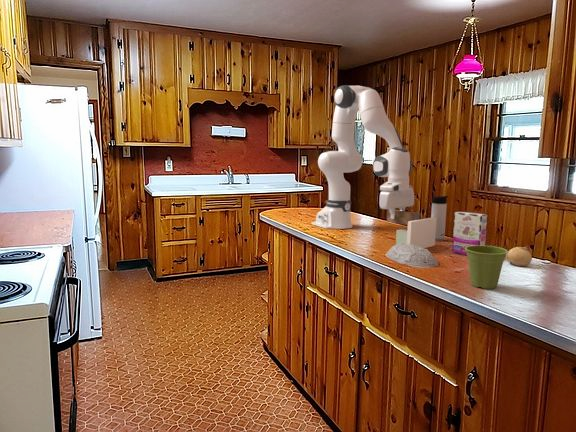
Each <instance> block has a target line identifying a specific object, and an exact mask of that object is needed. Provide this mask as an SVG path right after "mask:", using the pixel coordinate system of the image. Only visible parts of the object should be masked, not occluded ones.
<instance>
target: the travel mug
mask: <svg viewBox="0 0 576 432" xmlns="http://www.w3.org/2000/svg"><path fill="white" fill-rule="evenodd" d="M448 198H449V196H448V195H445V196H443V195H440V196H434V197H432V198H431V199H432V202H431V215H430V218H432V217H435V218H437V219H436V234H435V242H444V241H445V237H446V236H445V235H446V234H445V233H446V220H447V207H448V206H447V205H448V203H447V202H448Z"/></svg>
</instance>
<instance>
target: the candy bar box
mask: <svg viewBox="0 0 576 432" xmlns="http://www.w3.org/2000/svg"><path fill="white" fill-rule="evenodd" d="M453 215H454V217H453V232H452V233H453V235H452V247H451V253H452V254H456V255H462V256H466V257H467V250H465V247H467V246H473V245H484V246H486V241H487V240H486V238H487V237H486V236H487V224H488V214H485V213H477V212H467V211H456V212H454V214H453Z"/></svg>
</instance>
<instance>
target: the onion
mask: <svg viewBox="0 0 576 432" xmlns="http://www.w3.org/2000/svg"><path fill="white" fill-rule="evenodd" d="M505 258H506V260H507V262H508V263H509V264H510V265H511V266H512V265H514V266H518V267H527V266H528V265H530V264H531V262H532V261H533V259H532V258H533V257H532V255H531V252H530V251H529V250H528V246H525V247H523V246H519V247H518V246H515V247H513V248H511V249H509V250H508V253H507V254H506V256H505Z"/></svg>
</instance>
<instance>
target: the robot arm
mask: <svg viewBox="0 0 576 432" xmlns="http://www.w3.org/2000/svg"><path fill="white" fill-rule="evenodd" d="M333 101H334V104H335V108H334V111H333V112H334V113H333V119H332V127H331V139H332V141H333V142H335V143H336V145H337V149H338V150H328V151H326V152H325V151H324V152H322V153H321V154H320V155H319V156H318V160H317V165H318V168H319V169H320V171H321V172H322V173H323V174H324V176H325V178H326V180H327V184H328V199H326V200H325V201H324V203H325V206H324V207H323V208H322V209H320V211H318V212H317V213H316V216H315V221H312V222H311V223H310V224H311V225H313V226H316V227H320V228H323V229H327V230H328V229H334V230H335V229H337V230H338V229H351V228H353V224H352V217H351V207H352V200H351V184H350V182H349V181H347V180H346V179H345V177H344V173H346V174H347V173H353V172H356V171H359V170H361V168H362V165H363V158H362V155H361V154H360V153H359V152H358V150H357V147H356V144H355V127H356V126H355V124H356V115H357V113H358V111H359V116H360V120H361V123H362V124H361V125H362V126H363V128H364V130H366V131H368V132H369V133H371V134H374V135H377V136H379V137H381V138H382V139H384V140H385V142H386V143H387V145H388V146H389V147H388V148H389V149H390V150H389V151H388V152H386V153H384V154H381V155H378V156H376V157H375V158H374V160H373V163H372V170H373V172H374V174H375V176H377V177H381V178H387V181H386V182H384V183H383V184H381V185H380V186H379V191H380V193H379V202H378V204H379V209H381V210H389V212H390V214H391V219H395V218H396V214H395V213H394V211H395V210H396V209H398V210H399V211H406V208H407V207H408V208H409V207H413V206H414V205H415V192H414V188H413V186H412V185H410V176H409V175H410V174H411V171H412V169H413V162H412V159H411V153H410V151H409V150H408V149H407V148H405V146H404V145H403V142H402V140H401V136H400V135H399V132H398V130H397V127H395V125H394V124H393V122H391V121H390V119H389V116H387V113H386V111H385V106H384V103H383V101H382V98H381V96H380V94H379V93H378V91H376V89H374V88H372V87H369V86H362V85H348V84H345V85H340V86H338V87H337V88H336V90H335V92H334V93H333Z"/></svg>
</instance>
